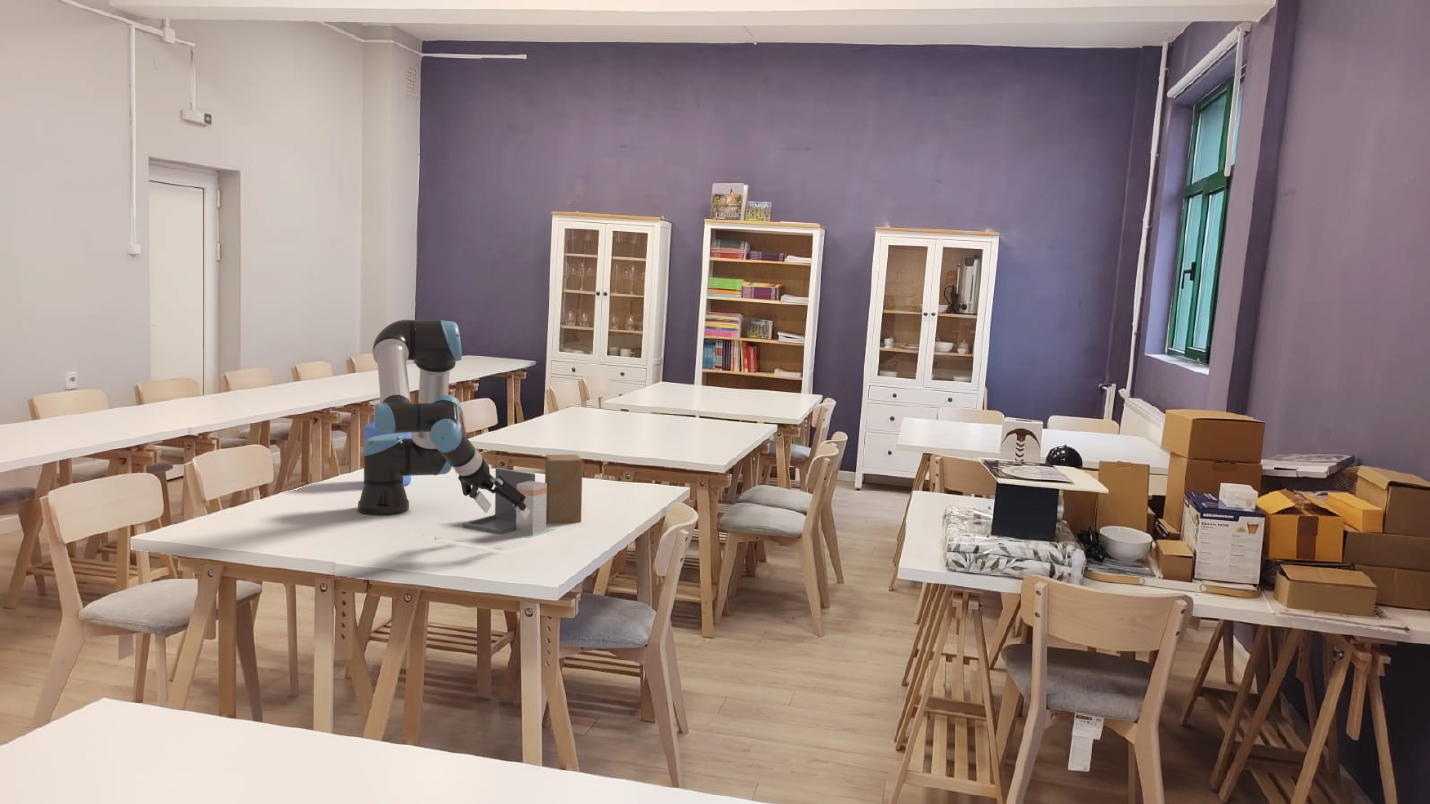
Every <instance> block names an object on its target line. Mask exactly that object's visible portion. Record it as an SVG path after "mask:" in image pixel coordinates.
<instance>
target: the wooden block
mask: <svg viewBox="0 0 1430 804" xmlns="http://www.w3.org/2000/svg"><path fill="white" fill-rule="evenodd" d="M544 462H545V464H544V465H545V468H544V470H545V471H544V479H545V480H544V483H547V502H546V524H570V523H571V524H573V523H574V524H575V523H577V524H578V523H582V506H583V505H582V502H583V501H582V498H583V495H582V494H583V459H582V458H581V457H580V456H579V455H578V454H546V455H545V461H544Z"/></svg>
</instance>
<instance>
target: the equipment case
mask: <svg viewBox="0 0 1430 804" xmlns="http://www.w3.org/2000/svg"><path fill="white" fill-rule="evenodd" d="M498 476H501V477H502V478H503V479H504V480H505V481H506V482H507V483H509V484H510V485H511V486H513V487H514V488H515V489H516V488H517V484H518V483H523V482H527V481H535V482H536V474H535V473H533V472H525V471H521V470H515V469H514V470H513V469H507V468H506V469H505V468H500V467H499V468H498V467H497V468H495V478H498ZM494 495H495V496H494V503H495V504H494V507H495V508H494V514H492V515H488V516H484V517H481V518H480V517H479V518H476V519H473V520H470V521H467V522H462V527H463V528H468V529H471V530H476V531H477V530H478V531H483V532H489V533H494V534H499V535H500V534H504V533H509V532H511V531H512V532H513V531H514V530H515V531H516V509H515V508H514V507H513V503H511V502H509V501H508V500H506V499H504V498H503V497H501V496H500V495H498V494H496V493H494Z"/></svg>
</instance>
